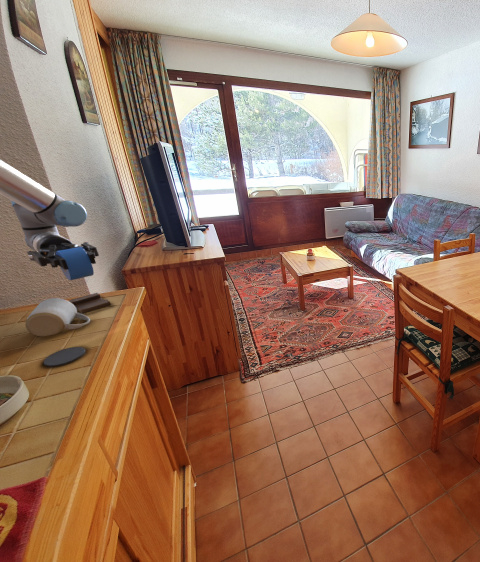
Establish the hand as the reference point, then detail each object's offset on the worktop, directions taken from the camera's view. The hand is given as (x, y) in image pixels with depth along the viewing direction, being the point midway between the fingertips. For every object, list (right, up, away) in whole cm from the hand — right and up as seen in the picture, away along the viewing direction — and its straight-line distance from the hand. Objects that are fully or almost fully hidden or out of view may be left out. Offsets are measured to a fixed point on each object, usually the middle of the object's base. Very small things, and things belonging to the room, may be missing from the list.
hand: (79, 261), depth 83 cm
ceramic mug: (-1, -18, -3) cm, 18 cm away
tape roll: (-4, -4, +5) cm, 8 cm away
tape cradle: (-5, -13, +9) cm, 16 cm away
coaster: (+10, -22, -14) cm, 28 cm away
